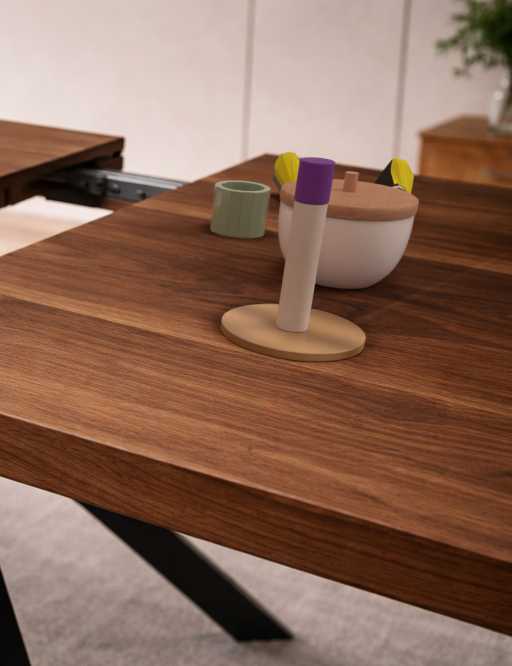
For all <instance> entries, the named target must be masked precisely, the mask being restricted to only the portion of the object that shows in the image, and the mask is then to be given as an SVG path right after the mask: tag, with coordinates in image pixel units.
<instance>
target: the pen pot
mask: <svg viewBox="0 0 512 666" xmlns="http://www.w3.org/2000/svg"><path fill="white" fill-rule="evenodd" d="M271 192H272V188H271V187H270V186H269V185H266V184H264V183H260V182H255V181H248V180H233V179H232V180H221V181H217V182H216V183H214V189H213V197H212V206H211V214H210V225H209V229H210V232H212V233H215V234H216V235H219V236H224V237H227V238H228V237H229V238H237V239H254V238H261V237H263V236H264V235H265V233H266V229H267V221H268V214H269V206H270V199H271Z"/></svg>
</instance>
